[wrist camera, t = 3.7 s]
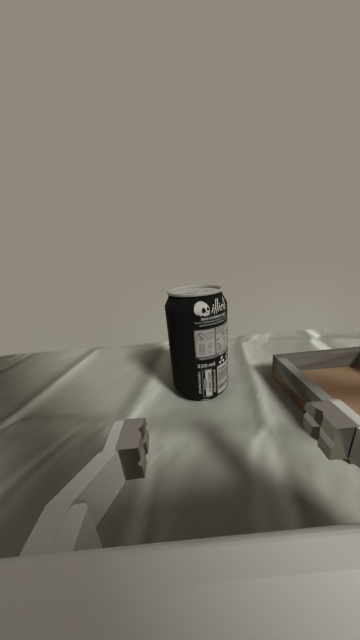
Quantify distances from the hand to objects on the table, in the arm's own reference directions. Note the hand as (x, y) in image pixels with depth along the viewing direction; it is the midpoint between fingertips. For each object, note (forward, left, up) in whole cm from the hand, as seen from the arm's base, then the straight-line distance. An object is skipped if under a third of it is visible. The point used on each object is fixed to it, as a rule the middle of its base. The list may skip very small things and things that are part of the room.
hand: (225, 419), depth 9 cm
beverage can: (+6, +10, -7) cm, 14 cm away
